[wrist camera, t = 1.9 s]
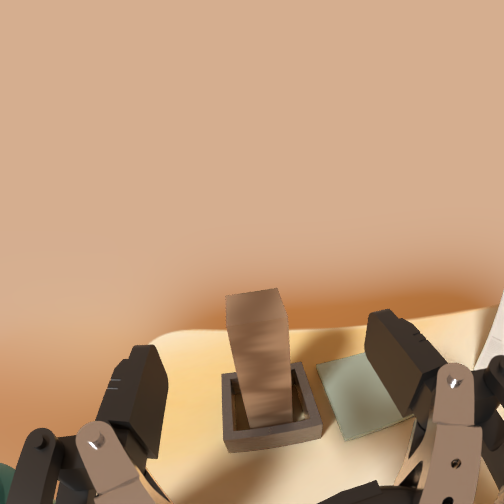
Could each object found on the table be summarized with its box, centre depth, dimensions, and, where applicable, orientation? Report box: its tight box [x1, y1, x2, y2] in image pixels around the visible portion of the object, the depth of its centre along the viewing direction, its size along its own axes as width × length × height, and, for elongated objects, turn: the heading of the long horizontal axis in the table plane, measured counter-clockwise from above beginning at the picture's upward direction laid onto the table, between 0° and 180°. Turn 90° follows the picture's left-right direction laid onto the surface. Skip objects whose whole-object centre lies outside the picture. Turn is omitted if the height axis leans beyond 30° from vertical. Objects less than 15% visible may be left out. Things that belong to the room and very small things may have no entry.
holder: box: [222, 362, 323, 453], centre depth 27 cm, size 10×10×3 cm
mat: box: [316, 352, 415, 441], centre depth 28 cm, size 10×12×1 cm
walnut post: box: [226, 288, 293, 429], centre depth 25 cm, size 4×4×15 cm
